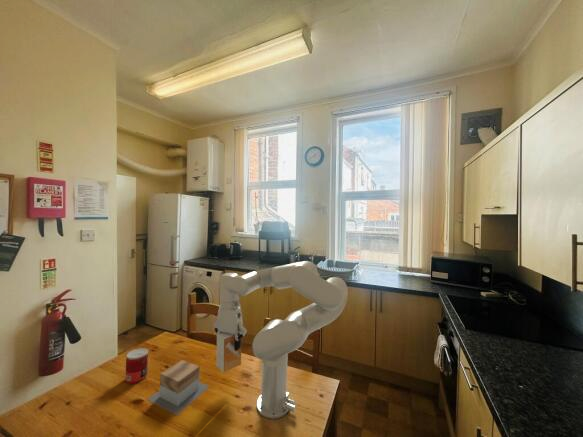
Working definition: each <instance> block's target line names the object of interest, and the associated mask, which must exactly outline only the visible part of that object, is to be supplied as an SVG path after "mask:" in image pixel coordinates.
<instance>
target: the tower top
mask: <svg viewBox="0 0 583 437" xmlns="http://www.w3.org/2000/svg"><path fill="white" fill-rule="evenodd" d="M159 375H160V376H159V378H160V379H159V386H160V385H161V386H163V387H165V388H167V389H169V390H171V391H173V392H175V393H177V394H179V393H180V392H181V391H183V390H184V389H185V388H186V387H188V386H189V385H190V384H192V383H193V382H194V381H196V380H197V379H198V378H199V379H200V366H198V365H196V364H194V363H191V362H189V361H187V360H183V359H181V360H180V361H178V362H176V363H175V364H173V365H172V366H170V367H168V368H167V369H165V370H164V371H162V372H161V373H160V374H159Z"/></svg>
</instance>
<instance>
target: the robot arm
mask: <svg viewBox="0 0 583 437" xmlns="http://www.w3.org/2000/svg"><path fill="white" fill-rule="evenodd" d="M219 280H220V281H219V286H220V287H219V288H220V289H219V290H220V291H219V307H218V311H217V319H216V321H215V322H213V323H212V327H213V328H214V331H215V333H216V334H215V335H216V336H217V334H219V333H222V332H225V333H229V334H233V335H234V337H235V339H236V340H235V343H234V350H235V351H237V350H238V349H240V347H241V348H242V339H243V337H245V335H246V334H247V332H248V330H247V329H246V328H245V326H243V325H244V324H243V313H242V308H241V306H242V304H241V302H240V297H242V296H243V297H244V296H247V295H249V294H250V293H252V292H253V291H255V290H257V289H262V288H268V287H274V288H275V289H277V290H283V289H288V288H289V289H290V288H292V289H293V290H294V291H295V292H297V293H299V294H301V295H302V296H303V297H305V298H306V299H307V300H309V301H310V302H312V303H310V304H309V305H307V306H305V307H302V308H300V309H298V310H296V311H292V312H291V313H290V314H289V315H288V316H287V317H286V318H285V319H284V320H283V319H279V318H276V319H275V318H274V319H273V320H271V321H269V322H268V323H267V324H266V325H265V326H264V327H263V328H262V329H261V330H260V331H259V332H258V333H257V334H256V335H255V336H254V338H253V341H252V345H251V346H252V348H251V349H252V352H253V354H254V356H255V357H256V358H257V359H259V360H261V361H262V363H261V364H262V366H261V389H260V390H261V392H260V393H261V394H260V395H259V397H258V398H257V400H256V409H257V411H258V413H259V414H260V415H261V416H262V417H264V418H268V419H278V418H281V417H283V416H285V415H286V414H287V413H288V412H289V411H290V412H293V413H295V411H296V400H295V399H292V398H290V397H289V396H290V392H288V391H287V389H288V388H287V386H288V385H287V384H288V383H287V381H288V380H287V378H288V358H289V354H290V353H292V352H294V351H296V350H298V349H299V348H300V347H301V346H303V344H304V343H305V342H306V340H307V338H308V337H309V335H310V334H312V333H314V332H315V331H317V330H319V329H321V328H323V327H325V326H328V325H329V324H331V323H333V322H334V321H335V320H336V319H338V317H340V315H341V314H342V312H343V310H344V309H345V307H346V305H347V301H348V295H349V294H348V292H349V291H348V286H347V282H345V280H344V279H342V278H340V277H338V276H332V277H329V278H328V279H326V280H325V279H324V278H323V277H321V276H319V275H318V267H317V266H316V264H315V263H313V261H311V260H310V261H308V260H303V261H297V262H293V263H289V264H283V265H279V266H273V267H269V268H268V267H267V268H263V269H258V270H254V271H249V272H248V273H245V274H242V275H239V274H238V273H236V272H226V273H222V274H221V276H220V279H219ZM237 334H238V336H237Z"/></svg>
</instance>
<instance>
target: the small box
mask: <svg viewBox="0 0 583 437" xmlns="http://www.w3.org/2000/svg"><path fill="white" fill-rule="evenodd" d="M216 334H217V333H216ZM237 336H238V334H237ZM235 340H236V339H235V337H234V335H233V334H229V333H225V332H222V333H219V334H217V335H216V359H215V360H216V361H215V362H216V364H215V366H216V367H217V368H218V369H219V370H220V371H221V372H222V373H225V372H228V371H229V370H232V369H234V368H236V367H239V366H241V365H242V346H241V347H240V349H238V350H237V351H235V350H234V343H235Z"/></svg>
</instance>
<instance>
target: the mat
mask: <svg viewBox="0 0 583 437" xmlns="http://www.w3.org/2000/svg"><path fill="white" fill-rule="evenodd" d="M209 388H210V386H209V385H207V384H204V383H202V382H200V381H199V389H198V390H197V391H196V392H194V393H193V394H192V395H191V396H189V397H188V398H187V399H186V400H185V401H183V402H182V403H181V404H180V405H178V406H176V405H174V404H172V403H170V402H169V401H167V400H165V399H163V398H161V397H160V390H158V391H157V392H155V393H154V394H153V395H151V396H150V397H148V398H147V399H146V400H147V401H148V402H150V403H153V404H154V405H156V406H158V407H160V408H162V409H163V410H165V411H168V412H170V414H173V415H175V416H177V415H178V414H180V413H181V412H182V411H183V410H185V409H186V408H187V407H188V406H189V405H190V404H192V402H194V401H195V400H196V399H197V398H199V396H201V395H202V394H203V393H204V392H206V390H208V389H209Z"/></svg>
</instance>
